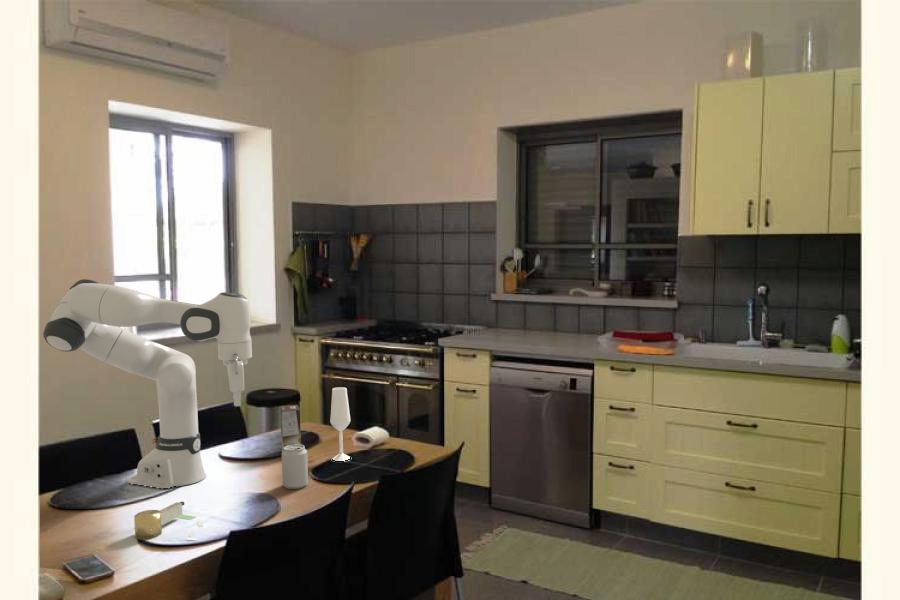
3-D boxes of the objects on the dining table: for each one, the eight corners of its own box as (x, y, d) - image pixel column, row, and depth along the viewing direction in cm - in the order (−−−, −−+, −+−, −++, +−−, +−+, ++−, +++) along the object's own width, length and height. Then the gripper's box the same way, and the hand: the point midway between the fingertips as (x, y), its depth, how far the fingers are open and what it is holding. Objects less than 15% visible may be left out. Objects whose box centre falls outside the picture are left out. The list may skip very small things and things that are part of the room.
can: (302, 490, 203) (300, 450, 202) (278, 489, 204) (276, 449, 204) (312, 482, 210) (310, 443, 209) (289, 481, 212) (287, 442, 211)
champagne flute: (337, 455, 238) (335, 386, 237) (355, 457, 236) (353, 387, 234) (327, 460, 232) (325, 390, 230) (345, 462, 230) (343, 391, 228)
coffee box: (301, 455, 238) (300, 409, 237) (282, 457, 237) (281, 411, 235) (299, 448, 247) (298, 404, 246) (281, 450, 245) (279, 405, 244)
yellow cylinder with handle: (149, 540, 165) (148, 520, 165) (129, 537, 167) (128, 517, 167) (192, 517, 180) (192, 498, 180) (173, 514, 182) (173, 496, 181)
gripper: (248, 356, 180) (250, 409, 181) (245, 346, 199) (247, 394, 200) (223, 358, 178) (225, 411, 179) (222, 348, 197) (224, 396, 198)
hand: (237, 402), depth 189 cm, fingers open, 8 cm apart
